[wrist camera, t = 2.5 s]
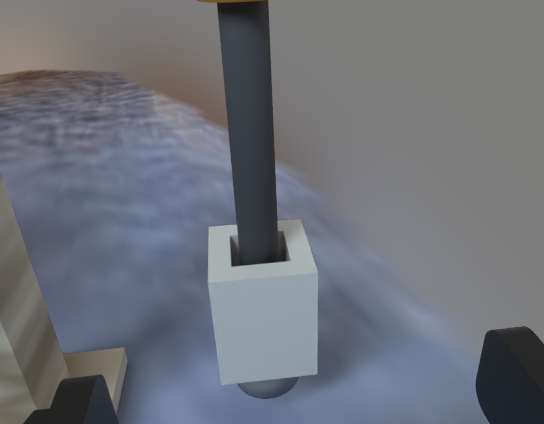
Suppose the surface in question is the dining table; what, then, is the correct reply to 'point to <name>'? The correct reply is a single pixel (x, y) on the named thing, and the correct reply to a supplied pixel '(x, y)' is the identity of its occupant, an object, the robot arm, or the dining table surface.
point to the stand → (37, 336)
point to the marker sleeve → (264, 307)
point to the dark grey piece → (251, 143)
